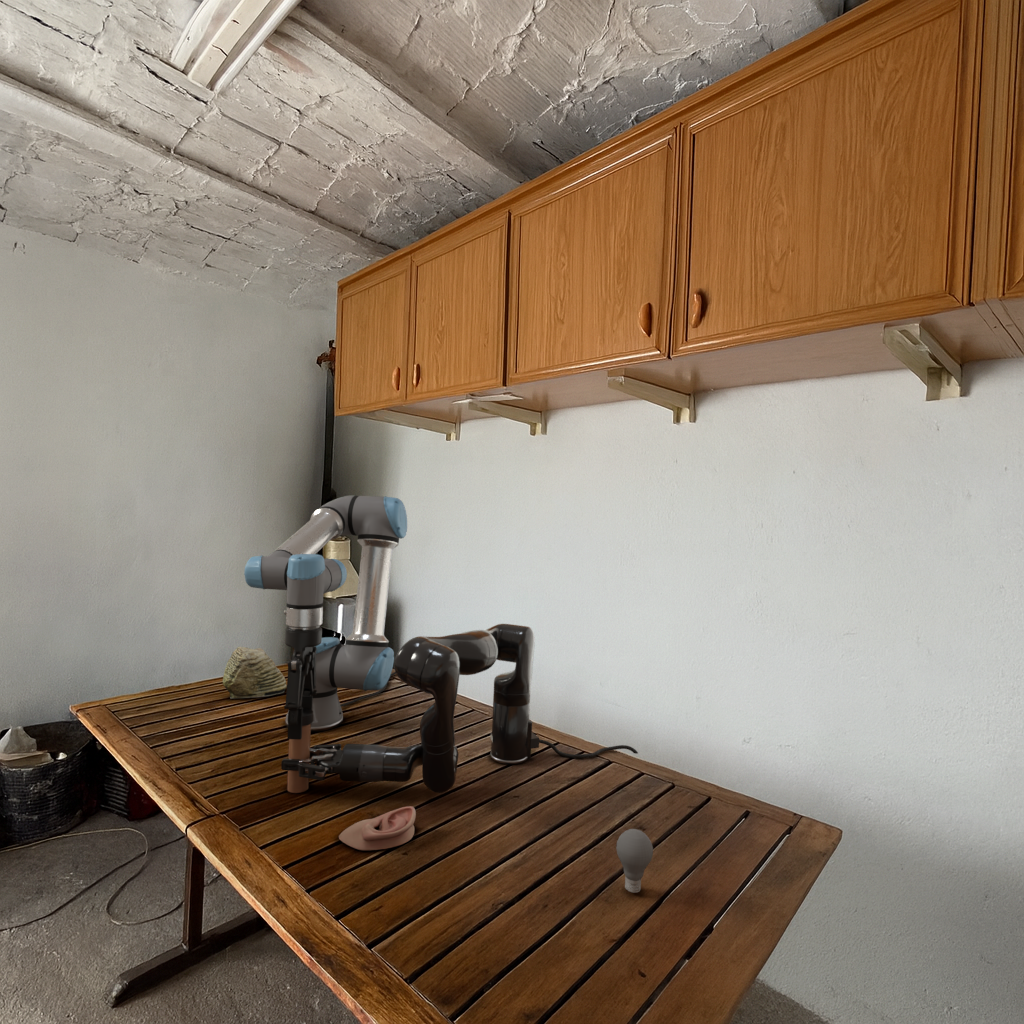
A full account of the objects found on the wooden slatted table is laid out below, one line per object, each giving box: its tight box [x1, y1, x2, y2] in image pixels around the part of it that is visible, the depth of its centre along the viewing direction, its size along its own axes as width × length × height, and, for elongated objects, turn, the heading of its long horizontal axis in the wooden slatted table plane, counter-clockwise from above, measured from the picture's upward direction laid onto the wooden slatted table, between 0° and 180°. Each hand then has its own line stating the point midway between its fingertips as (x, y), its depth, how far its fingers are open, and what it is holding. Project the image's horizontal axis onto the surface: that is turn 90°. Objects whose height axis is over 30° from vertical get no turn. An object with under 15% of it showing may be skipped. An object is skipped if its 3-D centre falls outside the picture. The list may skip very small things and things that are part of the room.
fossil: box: [222, 646, 287, 699], centre depth 198 cm, size 9×18×15 cm, turn 132°
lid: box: [287, 709, 313, 726], centre depth 137 cm, size 5×5×2 cm
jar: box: [286, 724, 312, 794], centre depth 137 cm, size 4×4×16 cm
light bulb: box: [615, 828, 654, 894], centre depth 106 cm, size 6×6×10 cm
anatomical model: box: [338, 805, 417, 851], centre depth 119 cm, size 13×4×12 cm
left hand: (300, 731), depth 137 cm, fingers open, 7 cm apart
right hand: (286, 759), depth 137 cm, fingers closed on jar, 4 cm apart
